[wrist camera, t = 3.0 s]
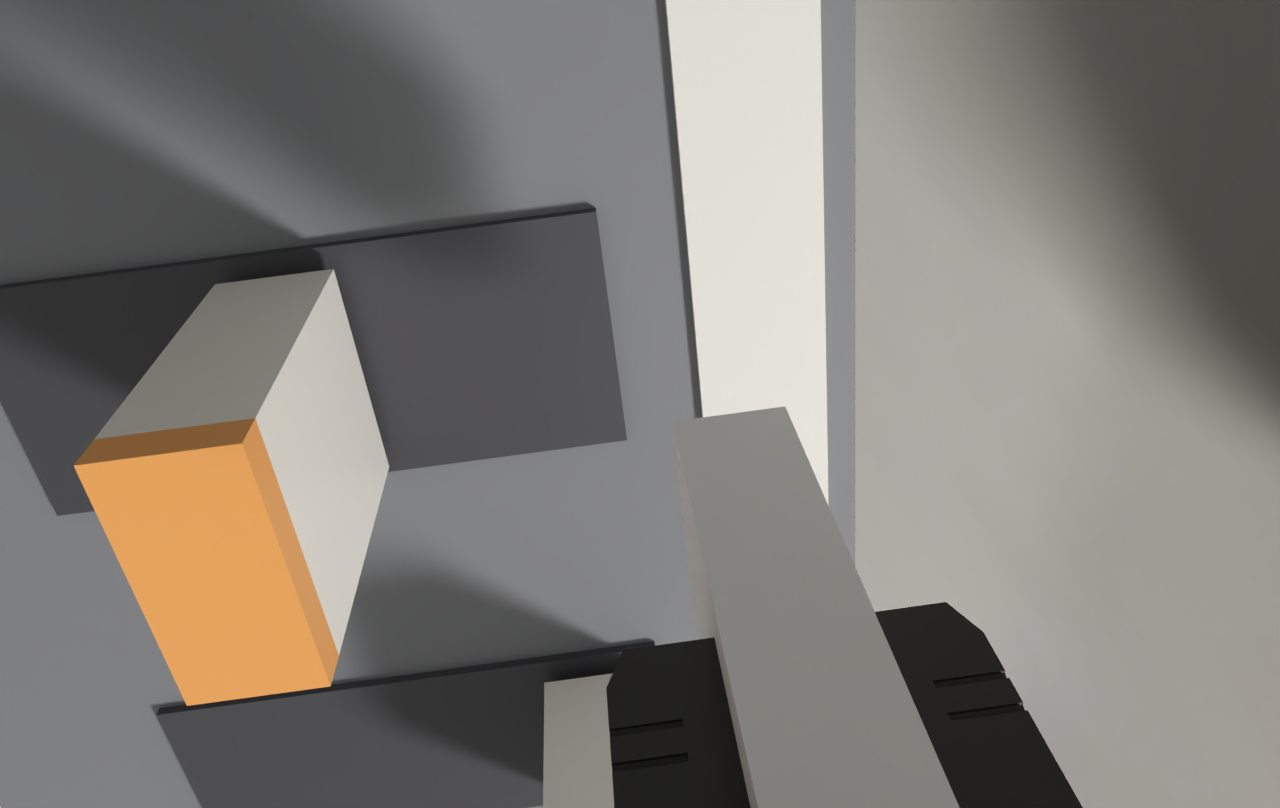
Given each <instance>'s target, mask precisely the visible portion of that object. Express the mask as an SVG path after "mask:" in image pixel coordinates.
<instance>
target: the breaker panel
mask: <svg viewBox="0 0 1280 808" xmlns="http://www.w3.org/2000/svg"><path fill="white" fill-rule="evenodd" d="M329 269H334V272H335V275H336V279H337V283H338V286H339V290H340V293H341V297H342V300H343V304H344V307H345V311H346V315H347V318H348V322H349V325H350V329H351V332H352V336H353V339H354V343H355V347H356V350H357V354H358V357H359V361H360V364H361V368H362V372H363V375H364V379H365V382H366V386H367V389H368V393H369V396H370V400H371V404H372V407H373V411H374V414H375V418H376V421H377V425H378V428H379V432H380V436H381V439H382V443H383V446H384V450H385V453H386V457H387V460H388V464H389V469H388V473H387V477H386V481H385V484H384V488H383V492H382V496H381V500H380V503H379V507H378V511H377V515H376V518H375V522H374V526H373V530H372V533H371V537H370V541H369V545H368V548H367V552H366V556H365V560H364V563H363V567H362V571H361V575H360V578H359V582H358V586H357V590H356V593H355V597H354V601H353V605H352V608H351V612H350V616H349V620H348V624H347V627H346V631H345V635H344V639H343V642H342V646H341V650H340V654H339V657H338V661H337V665H336V669H335V672H334V676H333V680H332V684H331V686H330V687H323V688H316V689H308V690H301V691H294V692H286V693H279V694H271V695H264V696H257V697H249V698H242V699H235V700H227V701H220V702H212V703H205V704H198V705H190V706H187V705H186V703H185V701H184V699H183V697H182V695H181V692H180V690H179V688H178V686H177V684H176V682H175V680H174V678H173V675H172V673H171V671H170V669H169V667H168V665H167V663H166V661H165V658H164V656H163V654H162V652H161V650H160V648H159V646H158V644H157V642H156V639H155V637H154V635H153V633H152V631H151V629H150V627H149V625H148V622H147V620H146V618H145V616H144V614H143V612H142V610H141V608H140V605H139V603H138V601H137V599H136V597H135V595H134V593H133V591H132V589H131V586H130V584H129V582H128V580H127V578H126V576H125V574H124V572H123V569H122V567H121V565H120V563H119V561H118V559H117V557H116V555H115V552H114V550H113V548H112V546H111V544H110V542H109V540H108V538H107V536H106V533H105V531H104V529H103V527H102V525H101V523H100V521H99V519H98V516H97V514H96V512H95V510H94V508H93V506H92V504H91V502H90V500H89V497H88V495H87V493H86V491H85V489H84V487H83V485H82V483H81V480H80V478H79V476H78V474H77V472H76V470H75V468H74V464H75V463H76V462H77V461H78V459H79V458H80V457H81V455H82V454H83V453H84V452H85V450H86V449H87V448H88V447H89V445H90V444H91V443H92V441H93V440H94V439H95V438H96V436H97V435H98V434H99V432H100V431H101V430H102V429H103V427H104V426H105V425H106V423H107V422H108V421H109V420H110V418H111V417H112V416H113V414H114V413H115V412H116V411H117V409H118V408H119V407H120V405H121V404H122V403H123V402H124V400H125V399H126V398H127V396H128V395H129V394H130V393H131V391H132V390H133V389H134V387H135V386H136V385H137V384H138V382H139V381H140V380H141V379H142V377H143V376H144V375H145V373H146V372H147V371H148V370H149V368H150V367H151V366H152V364H153V363H154V362H155V361H156V359H157V358H158V357H159V355H160V354H161V353H162V352H163V350H164V349H165V348H166V346H167V345H168V344H169V343H170V341H171V340H172V339H173V337H174V336H175V335H176V334H177V332H178V331H179V330H180V328H181V327H182V326H183V325H184V323H185V322H186V321H187V319H188V318H189V317H190V316H191V314H192V313H193V312H194V311H195V309H196V308H197V307H198V305H199V304H200V303H201V302H202V300H203V299H204V298H205V296H206V295H207V294H208V293H209V291H210V290H211V289H212V287H213V286H214V285H215V284H221V283H229V282H236V281H244V280H252V279H259V278H267V277H275V276H282V275H290V274H298V273H305V272H313V271H321V270H329ZM784 406H785V407H786V409H787V412H788V414H789V416H790V419H791V421H792V423H793V425H794V428H795V430H796V432H797V435H798V437H799V439H800V442H801V444H802V446H803V448H804V451H805V453H806V455H807V458H808V460H809V462H810V465H811V467H812V469H813V471H814V474H815V476H816V478H817V481H818V483H819V485H820V488H821V490H822V492H823V494H824V497H825V499H826V501H827V504H828V506H829V508H830V511H831V513H832V515H833V517H834V520H835V522H836V524H837V527H838V529H839V531H840V534H841V536H842V538H843V540H844V543H845V545H846V547H847V550H848V552H849V554H850V557H851V559H852V561H853V564H854V566H855V0H0V806H1V808H543V766H544V683H546V682H553V681H561V680H568V679H575V678H583V677H590V676H597V675H605V674H612V673H613V672H614V669H615V667H616V665H617V663H618V660H619V658H620V656H621V653H622V651H623V650H627V649H634V648H641V647H649V646H656V645H663V644H670V643H677V642H684V641H692V640H699V639H701V635H700V630H699V625H698V620H697V615H696V610H695V604H694V599H693V594H692V589H691V584H690V576H689V566H688V557H687V548H686V538H685V529H684V520H683V510H682V501H681V492H680V482H679V473H678V464H677V454H676V445H675V436H674V426H673V421H681V420H688V419H695V418H703V417H710V416H718V415H725V414H732V413H740V412H747V411H755V410H762V409H769V408H777V407H784Z"/></svg>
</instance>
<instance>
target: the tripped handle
mask: <svg viewBox="0 0 1280 808" xmlns="http://www.w3.org/2000/svg"><path fill="white" fill-rule="evenodd" d="M74 468H75V470H76V472H77V474H78V476H79V478H80V480H81V483H82V485H83V487H84V489H85V491H86V493H87V495H88V497H89V500H90V502H91V504H92V506H93V508H94V510H95V512H96V514H97V516H98V519H99V521H100V523H101V525H102V527H103V529H104V531H105V533H106V536H107V538H108V540H109V542H110V544H111V546H112V548H113V550H114V552H115V555H116V557H117V559H118V561H119V563H120V565H121V567H122V569H123V572H124V574H125V576H126V578H127V580H128V582H129V584H130V586H131V589H132V591H133V593H134V595H135V597H136V599H137V601H138V603H139V605H140V608H141V610H142V612H143V614H144V616H145V618H146V620H147V622H148V625H149V627H150V629H151V631H152V633H153V635H154V637H155V639H156V642H157V644H158V646H159V648H160V650H161V652H162V654H163V656H164V658H165V661H166V663H167V665H168V667H169V669H170V671H171V673H172V675H173V678H174V680H175V682H176V684H177V686H178V688H179V690H180V692H181V695H182V697H183V699H184V701H185V703H186V705H187V706H190V705H198V704H205V703H212V702H220V701H227V700H235V699H242V698H249V697H257V696H264V695H271V694H279V693H286V692H294V691H301V690H308V689H316V688H323V687H330V686H331V684H332V680H333V676H334V672H335V669H336V665H337V661H338V657H339V654H340V650H341V646H342V642H343V639H344V635H345V631H346V627H347V624H348V620H349V616H350V612H351V608H352V605H353V601H354V597H355V593H356V590H357V586H358V582H359V578H360V575H361V571H362V567H363V563H364V560H365V556H366V552H367V548H368V545H369V541H370V537H371V533H372V530H373V526H374V522H375V518H376V515H377V511H378V507H379V503H380V500H381V496H382V492H383V488H384V484H385V481H386V477H387V473H388V469H389V464H388V460H387V457H386V453H385V450H384V446H383V443H382V439H381V436H380V432H379V428H378V425H377V421H376V418H375V414H374V411H373V407H372V404H371V400H370V396H369V393H368V389H367V386H366V382H365V379H364V375H363V372H362V368H361V364H360V361H359V357H358V354H357V350H356V347H355V343H354V339H353V336H352V332H351V329H350V325H349V322H348V318H347V315H346V311H345V307H344V304H343V300H342V297H341V293H340V290H339V286H338V283H337V279H336V275H335V272H334V269H329V270H321V271H313V272H305V273H298V274H290V275H282V276H275V277H267V278H259V279H252V280H244V281H236V282H229V283H221V284H215V285H214V286H213V287H212V289H211V290H210V291H209V293H208V294H207V295H206V296H205V298H204V299H203V300H202V302H201V303H200V304H199V305H198V307H197V308H196V309H195V311H194V312H193V313H192V314H191V316H190V317H189V318H188V319H187V321H186V322H185V323H184V325H183V326H182V327H181V328H180V330H179V331H178V332H177V334H176V335H175V336H174V337H173V339H172V340H171V341H170V343H169V344H168V345H167V346H166V348H165V349H164V350H163V352H162V353H161V354H160V355H159V357H158V358H157V359H156V361H155V362H154V363H153V364H152V366H151V367H150V368H149V370H148V371H147V372H146V373H145V375H144V376H143V377H142V379H141V380H140V381H139V382H138V384H137V385H136V386H135V387H134V389H133V390H132V391H131V393H130V394H129V395H128V396H127V398H126V399H125V400H124V402H123V403H122V404H121V405H120V407H119V408H118V409H117V411H116V412H115V413H114V414H113V416H112V417H111V418H110V420H109V421H108V422H107V423H106V425H105V426H104V427H103V429H102V430H101V431H100V432H99V434H98V435H97V436H96V438H95V439H94V440H93V441H92V443H91V444H90V445H89V447H88V448H87V449H86V450H85V452H84V453H83V454H82V455H81V457H80V458H79V459H78V461H77V462H76V463H75V464H74Z"/></svg>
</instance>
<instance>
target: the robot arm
mask: <svg viewBox="0 0 1280 808" xmlns="http://www.w3.org/2000/svg"><path fill="white" fill-rule="evenodd" d="M673 426H674V436H675V445H676V454H677V464H678V473H679V482H680V492H681V501H682V510H683V520H684V529H685V538H686V548H687V557H688V566H689V576H690V584H691V589H692V594H693V599H694V604H695V610H696V615H697V620H698V625H699V630H700V635H701V639H699V640H692V641H684V642H677V643H670V644H663V645H656V646H649V647H641V648H634V649H627V650H623V651H622V653H621V656H620V658H619V660H618V663H617V665H616V667H615V669H614V672H613V674H612V676H611V678H610V681H609V683H608V685H607V687H606V691H607V706H608V721H609V732H610V750H611V764H612V779H613V794H614V808H1082V806H1081V804H1080V802H1079V801H1078V799H1077V797H1076V795H1075V794H1074V792H1073V790H1072V788H1071V786H1070V785H1069V783H1068V781H1067V779H1066V778H1065V776H1064V774H1063V772H1062V771H1061V769H1060V767H1059V765H1058V763H1057V762H1056V760H1055V758H1054V756H1053V755H1052V753H1051V751H1050V749H1049V748H1048V746H1047V744H1046V742H1045V740H1044V739H1043V737H1042V735H1041V733H1040V732H1039V730H1038V728H1037V726H1036V725H1035V723H1034V721H1033V719H1032V717H1031V716H1030V714H1029V712H1028V710H1027V711H1025V710H1024V707H1023V702H1022V700H1021V698H1020V696H1019V694H1018V693H1017V691H1016V689H1015V687H1014V686H1013V684H1012V682H1011V680H1010V679H1009V678H1006V675H1005V670H1004V668H1003V666H1002V664H1001V663H1000V661H999V659H998V657H997V656H996V654H995V652H994V650H993V648H992V647H991V645H990V643H989V641H988V640H987V638H986V636H985V634H984V633H983V632H982V631H981V630H980V629H979V628H977V627H976V626H975V625H974V624H972V623H971V622H970V621H969V620H967V619H966V618H965V617H964V616H962V615H961V614H960V613H959V612H958V611H956V610H955V609H954V608H953V607H951V606H950V605H949V604H948V603H946V602H944V603H937V604H930V605H922V606H915V607H908V608H901V609H894V610H886V611H879V612H874V610H873V607H872V605H871V603H870V600H869V598H868V596H867V593H866V591H865V589H864V587H863V584H862V582H861V580H860V577H859V575H858V573H857V570H856V568H855V566H854V564H853V561H852V559H851V557H850V554H849V552H848V550H847V547H846V545H845V543H844V540H843V538H842V536H841V534H840V531H839V529H838V527H837V524H836V522H835V520H834V517H833V515H832V513H831V511H830V508H829V506H828V504H827V501H826V499H825V497H824V494H823V492H822V490H821V488H820V485H819V483H818V481H817V478H816V476H815V474H814V471H813V469H812V467H811V465H810V462H809V460H808V458H807V455H806V453H805V451H804V448H803V446H802V444H801V442H800V439H799V437H798V435H797V432H796V430H795V428H794V425H793V423H792V421H791V419H790V416H789V414H788V412H787V409H786V407H785V406H784V407H777V408H769V409H762V410H755V411H747V412H740V413H732V414H725V415H718V416H710V417H703V418H695V419H688V420H681V421H673Z"/></svg>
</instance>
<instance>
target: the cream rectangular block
mask: <svg viewBox="0 0 1280 808" xmlns="http://www.w3.org/2000/svg"><path fill="white" fill-rule="evenodd" d="M612 674H613V673H612ZM612 674H605V675H597V676H590V677H583V678H575V679H568V680H561V681H553V682H546V683H544V766H543V808H614V794H613V779H612V764H611V750H610V732H609V721H608V706H607V691H606V687H607V685H608V683H609V681H610V678H611V676H612Z"/></svg>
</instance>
